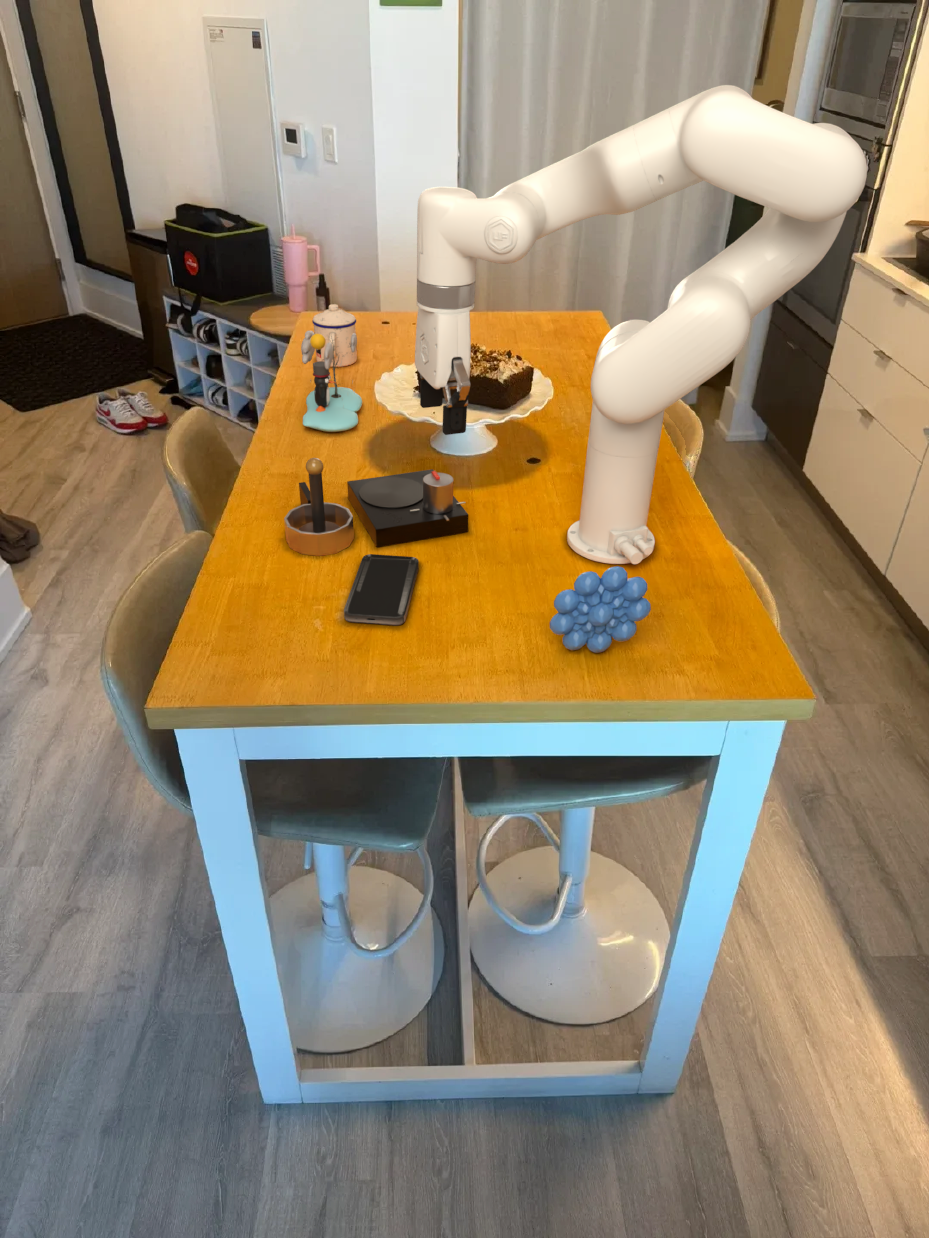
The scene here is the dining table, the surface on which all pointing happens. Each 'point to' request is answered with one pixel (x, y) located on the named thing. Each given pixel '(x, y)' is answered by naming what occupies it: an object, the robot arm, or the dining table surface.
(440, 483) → the hotplate knob
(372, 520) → the hotplate
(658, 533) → the dining table surface
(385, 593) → the phone
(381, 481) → the burner
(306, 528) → the peg stand
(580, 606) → the blue knobbed flower shape
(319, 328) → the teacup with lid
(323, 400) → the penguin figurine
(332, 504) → the egg ring
